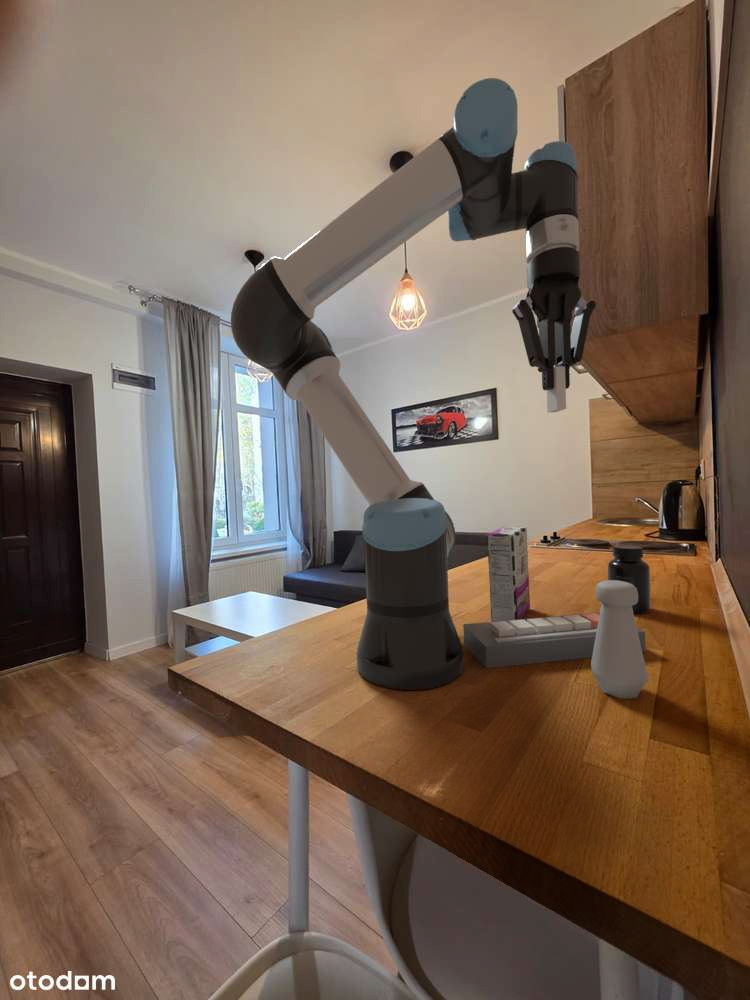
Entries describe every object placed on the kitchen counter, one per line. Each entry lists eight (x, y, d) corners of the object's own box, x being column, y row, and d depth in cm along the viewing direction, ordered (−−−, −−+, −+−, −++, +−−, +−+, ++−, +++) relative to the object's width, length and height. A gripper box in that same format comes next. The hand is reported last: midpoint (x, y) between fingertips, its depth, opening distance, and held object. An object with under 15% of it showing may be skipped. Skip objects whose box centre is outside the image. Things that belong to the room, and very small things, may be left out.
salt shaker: (660, 702, 44) (658, 588, 44) (608, 704, 44) (606, 589, 44) (627, 677, 50) (625, 576, 49) (582, 678, 50) (579, 577, 49)
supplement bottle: (660, 612, 73) (659, 548, 72) (630, 616, 71) (628, 551, 71) (628, 601, 80) (627, 543, 79) (600, 605, 78) (598, 545, 78)
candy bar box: (505, 605, 81) (502, 526, 80) (530, 608, 78) (528, 526, 78) (489, 622, 71) (485, 533, 71) (517, 626, 69) (514, 533, 68)
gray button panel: (486, 668, 54) (485, 639, 54) (464, 642, 63) (463, 618, 63) (645, 652, 57) (644, 624, 57) (602, 629, 66) (601, 606, 65)
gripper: (524, 242, 57) (529, 406, 57) (607, 245, 58) (611, 404, 59) (502, 271, 64) (506, 415, 65) (576, 272, 66) (579, 414, 66)
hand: (556, 410), depth 62 cm, fingers closed
